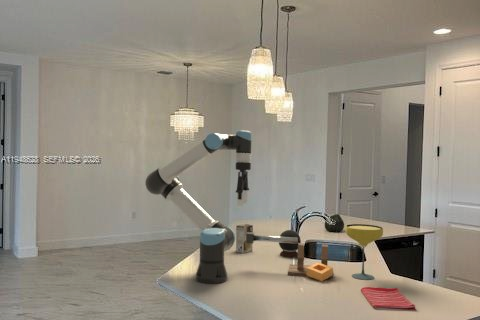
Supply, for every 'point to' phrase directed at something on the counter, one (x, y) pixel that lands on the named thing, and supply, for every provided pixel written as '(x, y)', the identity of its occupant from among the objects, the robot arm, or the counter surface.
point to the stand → (300, 267)
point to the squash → (337, 226)
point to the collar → (319, 271)
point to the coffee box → (243, 238)
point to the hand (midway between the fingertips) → (242, 204)
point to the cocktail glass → (363, 241)
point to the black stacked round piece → (289, 244)
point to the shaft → (269, 238)
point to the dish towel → (387, 299)
